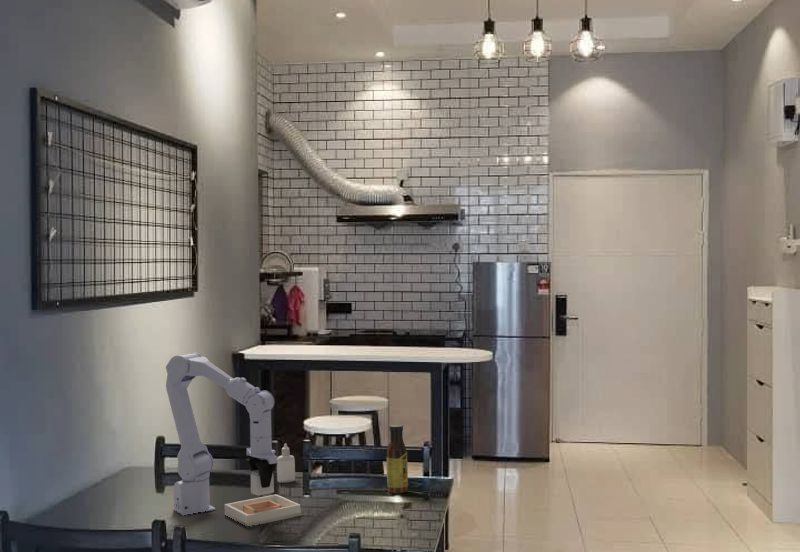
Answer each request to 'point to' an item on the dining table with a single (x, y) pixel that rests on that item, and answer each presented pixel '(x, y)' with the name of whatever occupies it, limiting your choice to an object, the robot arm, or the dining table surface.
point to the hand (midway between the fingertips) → (261, 485)
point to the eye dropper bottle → (285, 466)
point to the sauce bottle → (397, 461)
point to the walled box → (262, 510)
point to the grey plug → (256, 484)
